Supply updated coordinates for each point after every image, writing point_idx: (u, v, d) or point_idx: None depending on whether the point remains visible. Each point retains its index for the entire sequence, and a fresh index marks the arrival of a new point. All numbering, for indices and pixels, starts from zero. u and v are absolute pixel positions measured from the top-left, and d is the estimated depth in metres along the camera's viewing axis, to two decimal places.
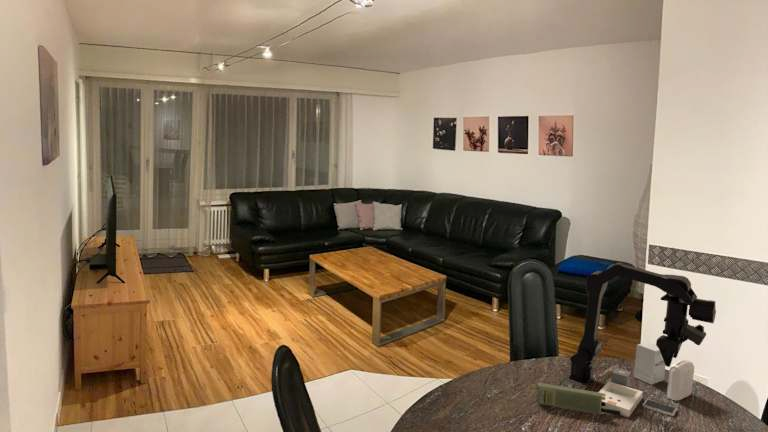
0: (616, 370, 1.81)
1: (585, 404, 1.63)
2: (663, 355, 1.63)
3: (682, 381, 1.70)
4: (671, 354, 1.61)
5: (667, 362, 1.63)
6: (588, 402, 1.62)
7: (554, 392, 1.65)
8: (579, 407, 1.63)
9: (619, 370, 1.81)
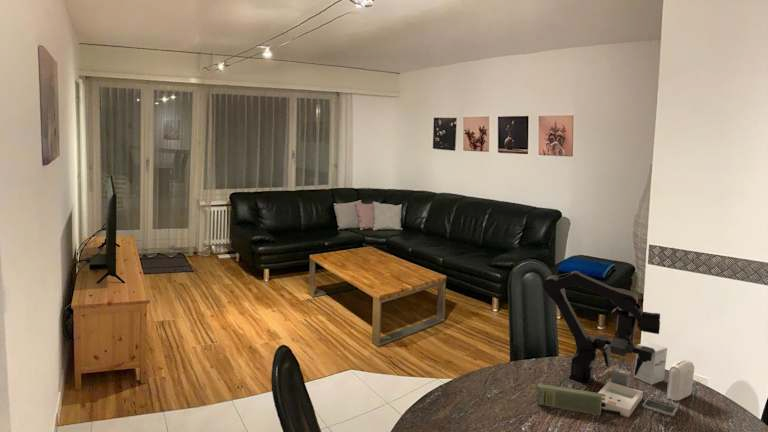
0: (616, 370, 1.81)
1: (585, 405, 1.62)
2: None
3: (682, 381, 1.70)
4: None
5: None
6: (588, 402, 1.62)
7: (554, 393, 1.65)
8: (579, 408, 1.63)
9: (619, 370, 1.81)
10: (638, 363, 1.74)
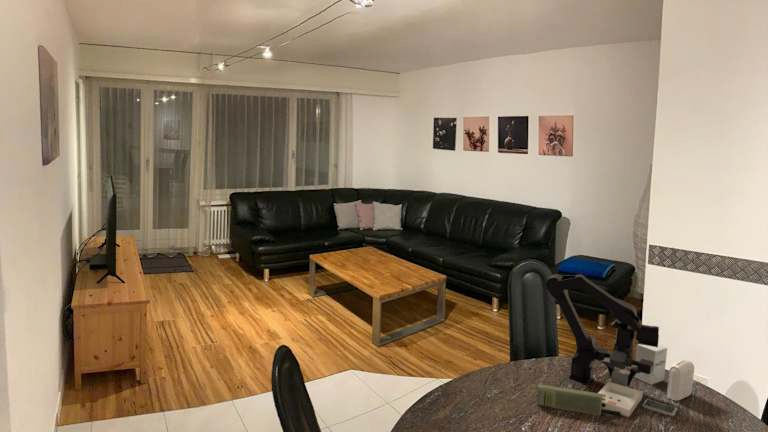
0: (616, 370, 1.81)
1: (585, 405, 1.62)
2: None
3: (682, 381, 1.70)
4: None
5: None
6: (588, 403, 1.62)
7: (554, 393, 1.65)
8: (580, 408, 1.63)
9: (619, 370, 1.81)
10: (631, 374, 1.76)
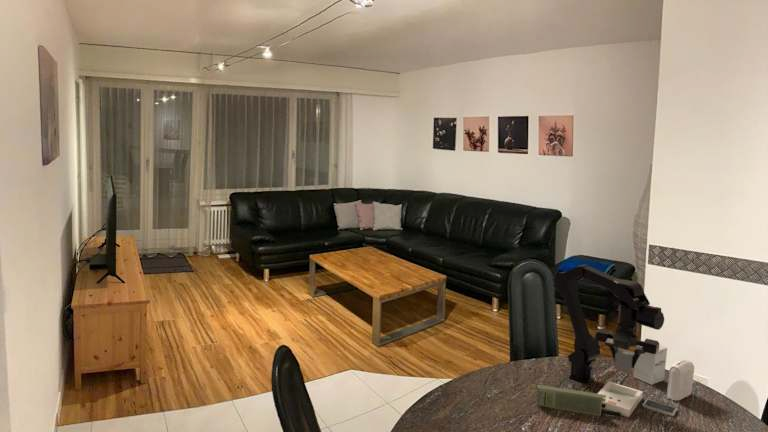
0: (619, 351, 1.73)
1: (585, 406, 1.62)
2: None
3: (682, 381, 1.70)
4: None
5: None
6: (588, 403, 1.61)
7: (554, 394, 1.64)
8: (580, 409, 1.63)
9: (623, 351, 1.73)
10: (636, 355, 1.68)
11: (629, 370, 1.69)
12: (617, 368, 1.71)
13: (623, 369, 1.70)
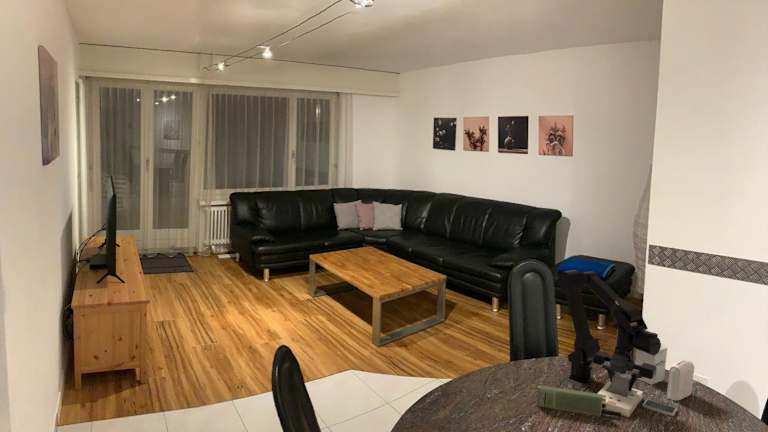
0: (617, 374, 1.73)
1: (585, 406, 1.62)
2: None
3: (682, 381, 1.70)
4: None
5: None
6: (588, 403, 1.61)
7: (554, 394, 1.64)
8: (580, 409, 1.62)
9: (620, 374, 1.73)
10: (632, 379, 1.68)
11: (626, 394, 1.69)
12: (614, 391, 1.71)
13: (620, 392, 1.70)
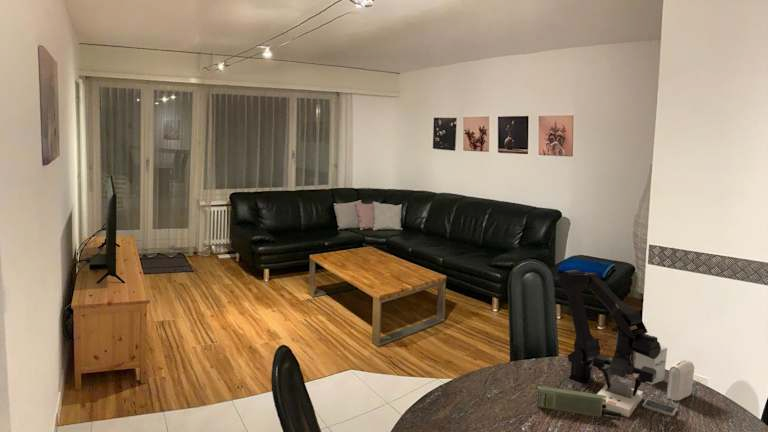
0: (616, 379, 1.73)
1: (585, 407, 1.61)
2: None
3: (682, 381, 1.70)
4: None
5: None
6: (588, 404, 1.61)
7: (555, 395, 1.63)
8: (580, 410, 1.62)
9: (620, 379, 1.73)
10: (636, 384, 1.67)
11: None
12: None
13: None
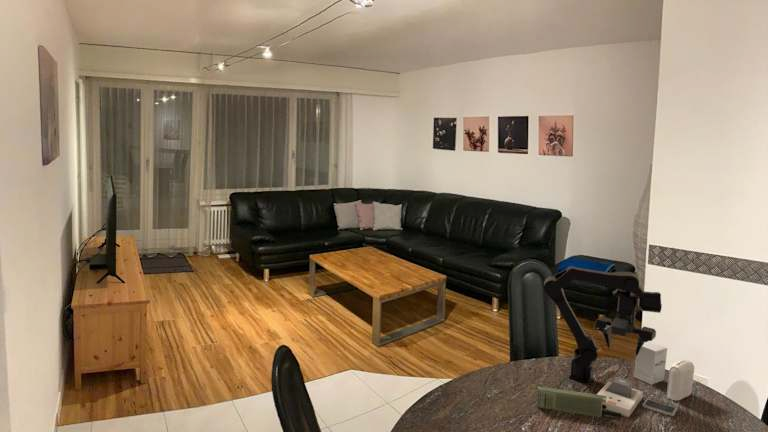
0: (616, 379, 1.73)
1: (585, 407, 1.61)
2: None
3: (682, 381, 1.70)
4: None
5: None
6: (589, 404, 1.61)
7: (555, 395, 1.63)
8: (580, 410, 1.62)
9: (620, 379, 1.73)
10: (639, 343, 1.76)
11: None
12: None
13: None
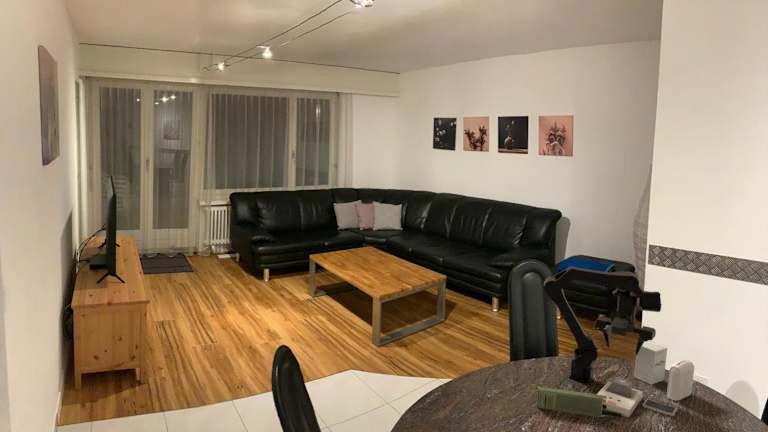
0: (616, 379, 1.73)
1: (586, 407, 1.61)
2: None
3: (682, 381, 1.70)
4: None
5: None
6: (589, 404, 1.61)
7: (555, 396, 1.63)
8: (580, 410, 1.62)
9: (620, 379, 1.73)
10: (639, 343, 1.76)
11: None
12: None
13: None
